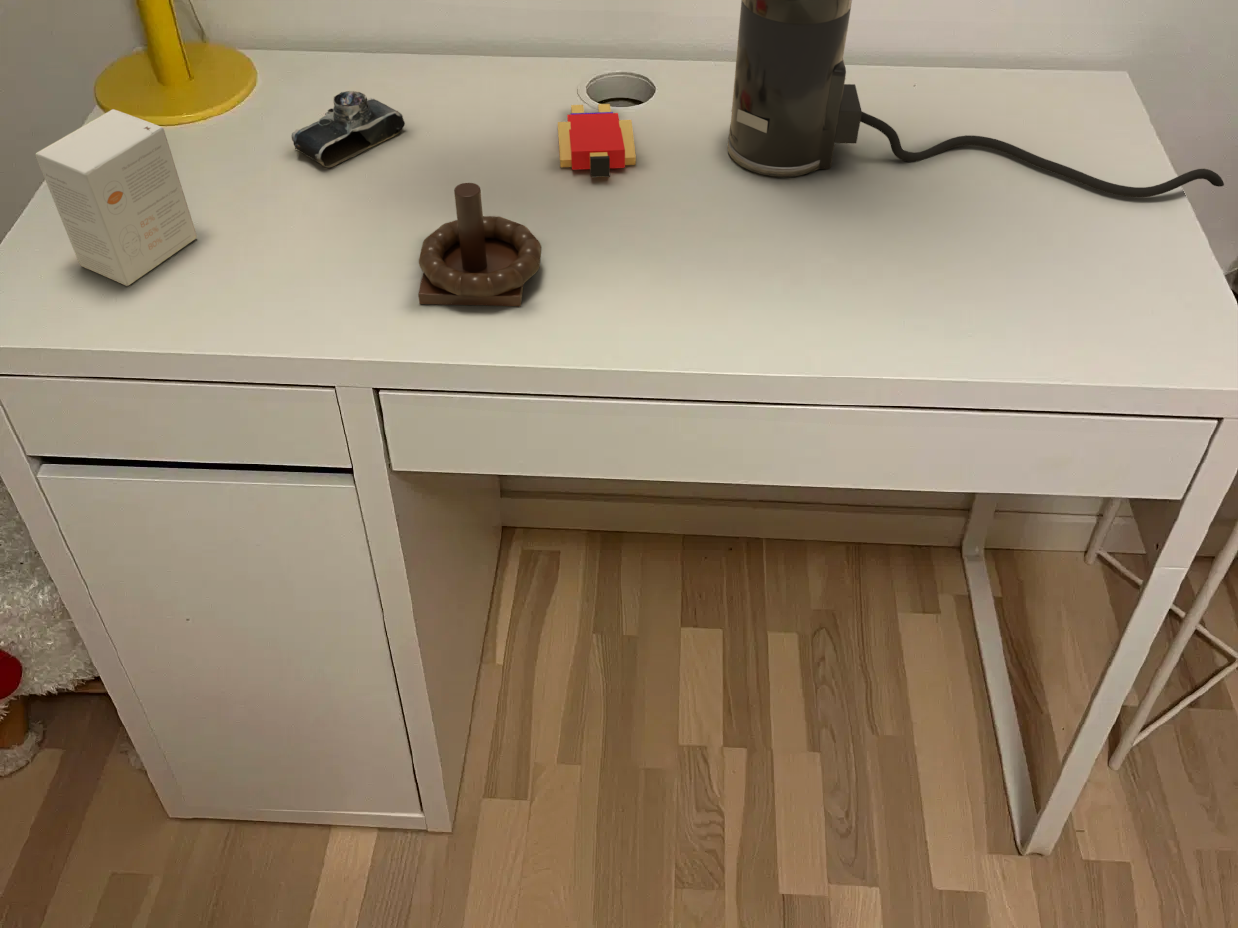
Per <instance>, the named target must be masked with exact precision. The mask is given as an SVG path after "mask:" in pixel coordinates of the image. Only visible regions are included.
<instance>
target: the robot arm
mask: <svg viewBox="0 0 1238 928" xmlns="http://www.w3.org/2000/svg"><path fill="white" fill-rule="evenodd" d="M852 3H853V0H741V1H740V13H739V22H738V23H739V25H738V33H737V34H738V35H737V45H736V46H737V47H736V58H735V68H734V69H735V70H734V82H733V92H732V104H731V115H730V124H729V133H728V137H727V139H728V140H727V151H728V154H729V156H730V157H731V159H732V160H733V161H734V162H735V163H736V164H738V165H739V166H740V167H742V168H744V169H746V170H748V171H751V172H753V173H756V174H760V175H765V176H770V177H779V178H780V177H781V178H783V177H784V178H786V177H787V178H788V177H789V178H790V177H798V176H803V175H807V174H810V173H813V172H815V171H817V170H820V169H821V170H822V169H823V170H824V169H831V168H832V163H833V156H834V150H835V145H836V144H846V145H847V144H848V145H850V144H851V145H852V144H853V145H855V144H857V143H858V136H859V131H860V126H861V123H862V124H865V125H867V126H868V127H872V128H874V129H876V130H877V131H879V132H881V133H882V134H883V135H884V136H885V137H886V138H887V140H888V142H889V146H890V148H891V151H892V153H893V155H894V156H895V157H896V158H897V159H899V160H900V161H904V162H906V163H913V162H920V161H924V160H926V159H929V158H932V157H934V156H938V155H940V154H942V153H944V152H946V151H948V150H951V149H954V148H958V147H962V146H975V147H976V146H977V147H983V148H988V149H992V150H996V151H999V152H1002V153H1003V154H1006V155H1009V156H1011V157H1014V158H1015V159H1018V160H1020V161H1022V162H1024V163H1027V164H1030V165H1032V166H1034V167H1037V168H1039V169H1041V170H1044V171H1048V172H1050V173H1053V174H1057V175H1059V176H1061V177H1064V178H1067V179H1069V180H1072V181H1074V182H1077V183H1078V184H1080V185H1084V186H1086V187H1089V188H1091V189H1094V190H1097V191H1100V192H1103V193H1107V194H1110V195H1114V196H1120V197H1125V198H1136V199H1137V198H1142V199H1143V198H1150V197H1151V198H1152V197H1155V196H1160V195H1162V194H1166V193H1169V192H1171V191H1173V190H1175V189H1178V188H1180V187H1182V186H1184V185H1186V184H1188V183H1190V182H1193V181H1196V180H1205V181H1207V182H1209V183H1210V184H1211V185H1212V186H1215V187H1218V188H1219V187H1225V183H1224V180H1223V179H1222V177H1221V176H1220V175H1219V174H1218V173H1216V172H1215V171H1213V170H1211V169H1208V168H1196V169H1194V170H1193V169H1192V170H1190V171H1187V172H1184V173H1182V174H1180V175H1178V176H1176V177H1174V178H1172V179H1169V180H1167V181H1165V182H1162V183H1159V184H1156V185H1153V186H1151V185H1150V186H1146V187H1144V186H1143V187H1140V186H1139V187H1136V186H1127V185H1123V184H1122V185H1121V184H1118V183H1117V184H1116V183H1113V182H1109V181H1105V180H1103V179H1101V178H1098V177H1094V176H1092V175H1089V174H1087V173H1084V172H1081V171H1079V170H1076V169H1074V168H1072V167H1069V166H1067V165H1064V164H1061V163H1058V162H1054V161H1052V160H1049V159H1046V158H1043V157H1041V156H1039V155H1037V154H1034V153H1032V152H1030V151H1027V150H1025V149H1023V148H1020V147H1018V146H1015V145H1014V144H1012V143H1009V142H1005V141H1003V140H999V139H996V138H992V137H989V136H988V137H987V136H983V135H982V136H981V135H973V134H971V135H970V134H969V135H959V136H956V137H955V136H954V137H952V138H949V139H946V140H944V141H942V142H939V143H937V144H936V145H933V146H932V147H929V148H926V149H924V150H921V151H917V152H916V151H915V152H913V151H908V150H905V149H904V148H903V146H902V144H901V140H900V137H899V135H898V133H897V131H896V130H895V129H894V128H893V126H891V125H889V124H888V122H885V121H884V120H882V119H880V118H878V117H875V116H873V115H871V114H868V113H867V112H865V111H863V110H862V106H861V103H860V99H859V94H858V90H857V87H856V84H855V83H854V84H853V83H851V84H850V83H845V82H846V76H847V69H846V63H845V59H844V54H845V48H846V42H847V36H848V29H849V22H850V16H851V10H852Z"/></svg>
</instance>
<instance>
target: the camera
mask: <svg viewBox="0 0 1238 928" xmlns="http://www.w3.org/2000/svg"><path fill="white" fill-rule="evenodd" d="M332 102H333V108H329V109H328V110H327V111H325V113H324V115H323V116H322V117H320V118H319V119H318V120H317V121H314V122H313V123H311V124H309V125H307V126H304V127H302V128H300V129H299V128H297V129H295V130H294V131H293V132H292V133H291V136H290V137H291V141H292V142H293V146H294V149H295V150H296V151H299V152H300V153H302V154H303V155H305V156H307V157H309V158H310V159H311V160H313V161H315V162H317V163H319V164H320V165H321V166H323V167H324V168H334V167H336V166H338V165H339V164H341V163H343V162H345V161H347V160H349V159H351V158H353V157H356V156H358V155H360V154H361V153H363V152H365V151H366V150H368V149H370V148H372V147H375V146H377V145H379V144H381V143H384V142H385V141H387V140H389V139H391V138H393V137H395V136H397V135H398V134H400V133H402V131H403V129H404V127H405V125H406V122H405V119H404V117H403V114H402V113H401V112H400V111H399V110H396V109H394V108H393V107H391V106H388V105H387V104H385V103H383V102H381V101H379V100H378V99H375V98H373V97H367V95H366V94H365V93H363V92H361V91H357V90H347V91H341V92H339V93H337V94H336V95H334V96H333V100H332Z"/></svg>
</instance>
